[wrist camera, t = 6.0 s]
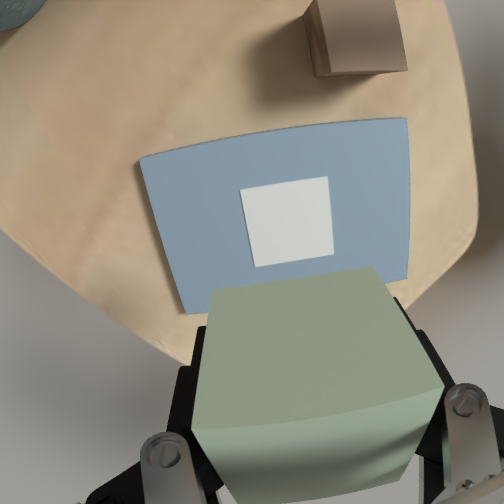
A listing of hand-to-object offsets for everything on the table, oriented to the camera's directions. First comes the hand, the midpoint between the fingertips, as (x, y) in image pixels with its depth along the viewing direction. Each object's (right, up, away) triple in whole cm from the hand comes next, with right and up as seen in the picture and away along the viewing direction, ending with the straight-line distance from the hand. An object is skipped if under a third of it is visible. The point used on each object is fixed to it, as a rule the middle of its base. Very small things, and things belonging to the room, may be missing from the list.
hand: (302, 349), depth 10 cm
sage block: (0, 0, 0) cm, 1 cm away
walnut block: (+5, +18, +9) cm, 21 cm away
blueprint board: (+1, +6, +15) cm, 16 cm away
